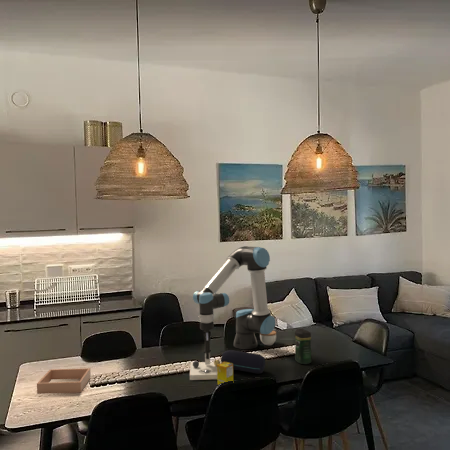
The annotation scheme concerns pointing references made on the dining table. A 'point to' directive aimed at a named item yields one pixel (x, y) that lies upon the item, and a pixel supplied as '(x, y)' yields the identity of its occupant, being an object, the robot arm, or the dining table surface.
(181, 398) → the dining table surface
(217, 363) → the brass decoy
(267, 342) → the lidded jar
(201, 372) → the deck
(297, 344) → the coffee jar
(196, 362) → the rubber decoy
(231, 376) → the supplement box
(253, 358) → the portable speaker
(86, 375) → the brown square tray
